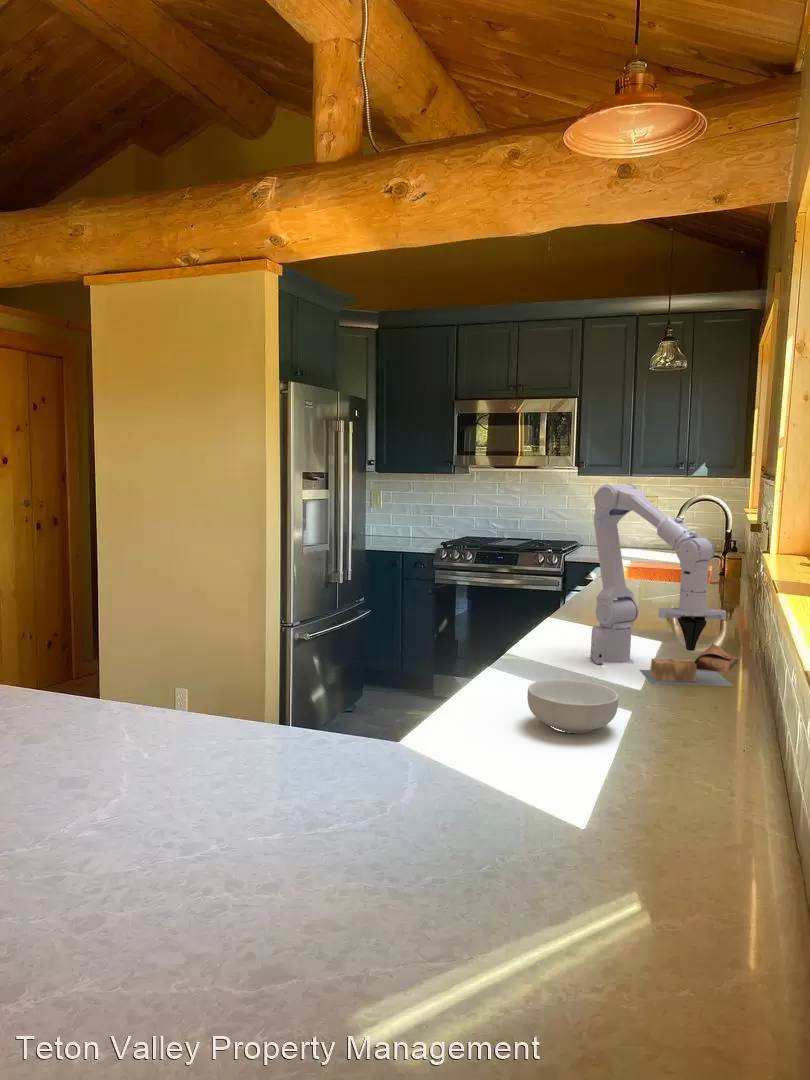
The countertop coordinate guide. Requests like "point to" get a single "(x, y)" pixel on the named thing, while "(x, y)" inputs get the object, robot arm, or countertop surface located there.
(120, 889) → the countertop surface
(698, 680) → the slate mat
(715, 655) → the sunglasses case
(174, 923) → the countertop surface
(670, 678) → the oak block
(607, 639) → the robot arm
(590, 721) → the cereal bowl
